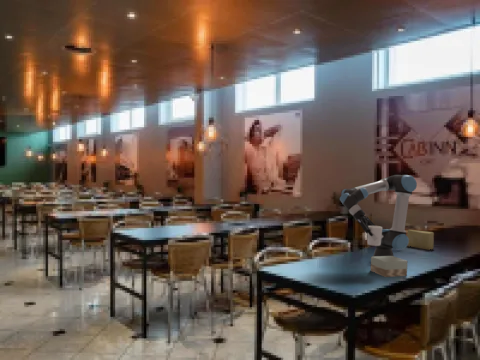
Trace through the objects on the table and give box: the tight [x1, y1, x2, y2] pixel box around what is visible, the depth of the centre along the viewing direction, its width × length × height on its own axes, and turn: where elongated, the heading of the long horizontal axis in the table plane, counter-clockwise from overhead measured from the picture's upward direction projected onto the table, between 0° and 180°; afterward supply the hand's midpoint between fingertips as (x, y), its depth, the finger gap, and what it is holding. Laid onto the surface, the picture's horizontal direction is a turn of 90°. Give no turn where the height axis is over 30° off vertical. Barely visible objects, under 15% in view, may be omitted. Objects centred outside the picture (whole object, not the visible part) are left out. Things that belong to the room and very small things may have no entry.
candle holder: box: [366, 225, 384, 247], centre depth 274 cm, size 10×10×12 cm
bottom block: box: [370, 263, 408, 278], centre depth 270 cm, size 16×16×5 cm
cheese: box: [406, 229, 435, 251], centre depth 368 cm, size 22×10×15 cm, turn 43°
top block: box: [370, 256, 408, 270], centre depth 270 cm, size 16×16×5 cm
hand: (379, 238), depth 272 cm, fingers closed on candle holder, 9 cm apart
